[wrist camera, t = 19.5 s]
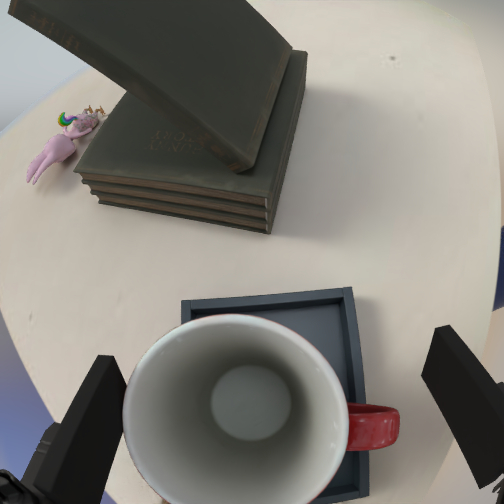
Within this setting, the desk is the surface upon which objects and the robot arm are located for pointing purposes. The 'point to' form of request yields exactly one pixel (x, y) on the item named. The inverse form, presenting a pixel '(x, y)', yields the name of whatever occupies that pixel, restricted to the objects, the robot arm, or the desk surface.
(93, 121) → the pink toy figure
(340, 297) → the tray
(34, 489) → the robot arm
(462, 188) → the desk surface
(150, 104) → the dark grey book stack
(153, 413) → the mug
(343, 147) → the desk surface
